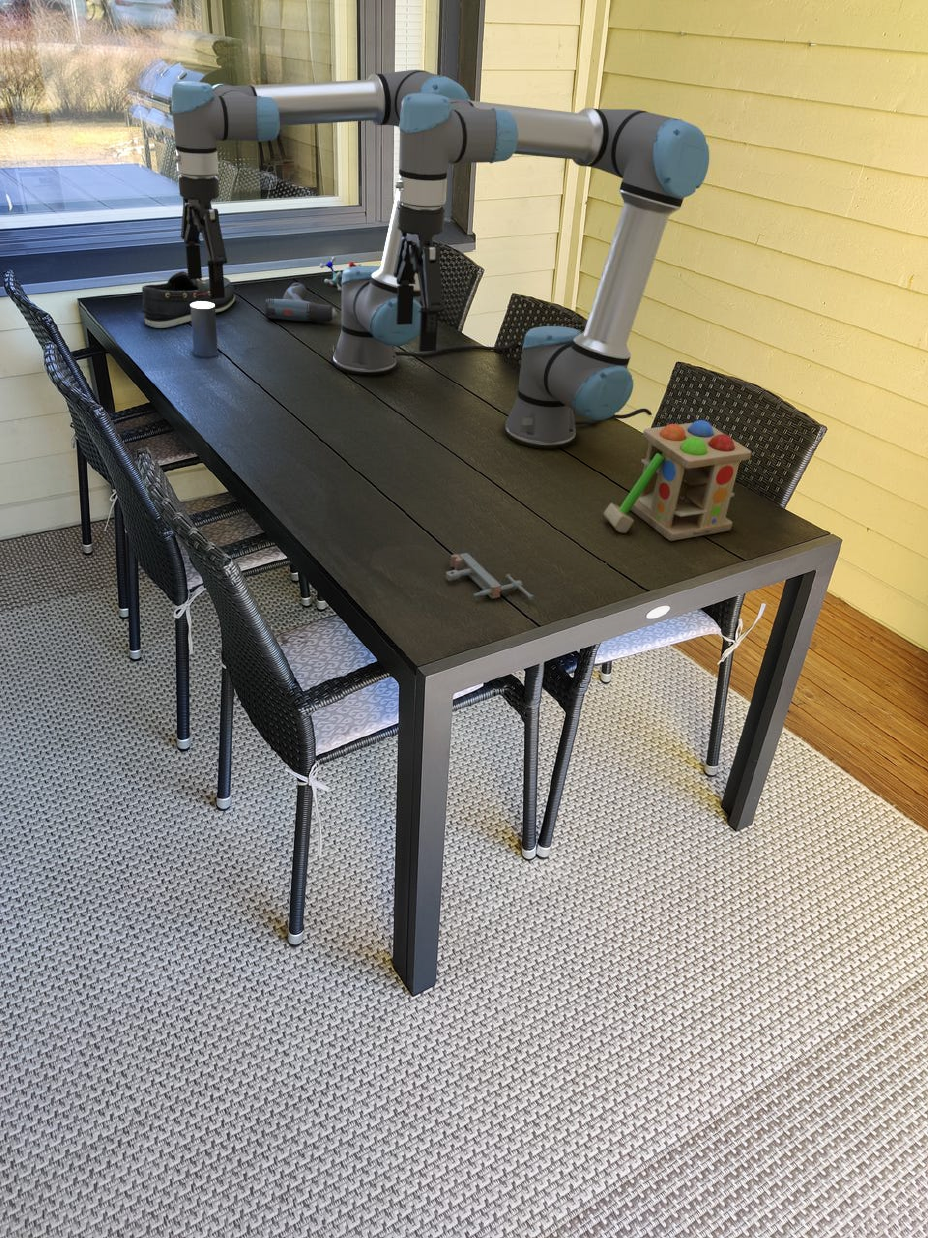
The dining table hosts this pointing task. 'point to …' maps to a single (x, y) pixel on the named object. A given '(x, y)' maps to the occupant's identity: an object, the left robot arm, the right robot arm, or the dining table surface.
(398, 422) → the dining table surface
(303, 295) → the power drill
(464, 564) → the clamp
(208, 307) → the tin
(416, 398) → the dining table surface
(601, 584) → the dining table surface
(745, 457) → the pounding bench toy
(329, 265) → the molecular model
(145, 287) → the boat shoe
